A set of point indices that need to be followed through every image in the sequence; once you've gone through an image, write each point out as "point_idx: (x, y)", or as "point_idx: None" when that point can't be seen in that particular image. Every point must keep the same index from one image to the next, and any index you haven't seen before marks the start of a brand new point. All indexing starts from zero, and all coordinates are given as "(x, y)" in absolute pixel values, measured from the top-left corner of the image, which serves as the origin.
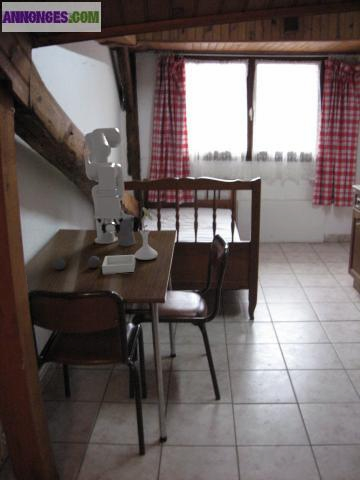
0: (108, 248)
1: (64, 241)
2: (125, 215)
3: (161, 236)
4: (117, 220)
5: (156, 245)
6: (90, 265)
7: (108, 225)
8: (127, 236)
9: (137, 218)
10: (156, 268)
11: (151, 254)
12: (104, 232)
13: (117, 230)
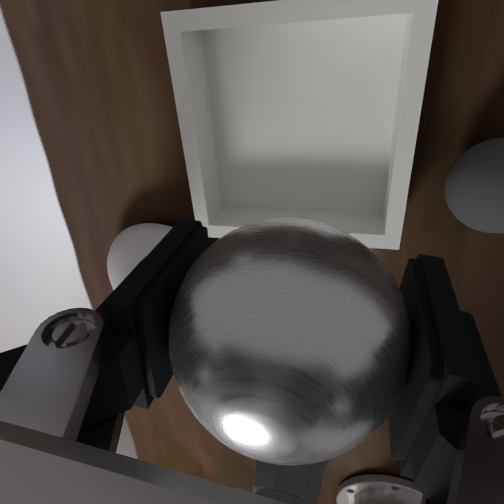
0: (379, 429)
1: None
2: None
3: (171, 465)
4: (34, 388)
5: (167, 397)
6: None
7: (314, 315)
8: (277, 472)
9: None
10: (77, 95)
11: (119, 246)
12: (419, 262)
13: (173, 236)
